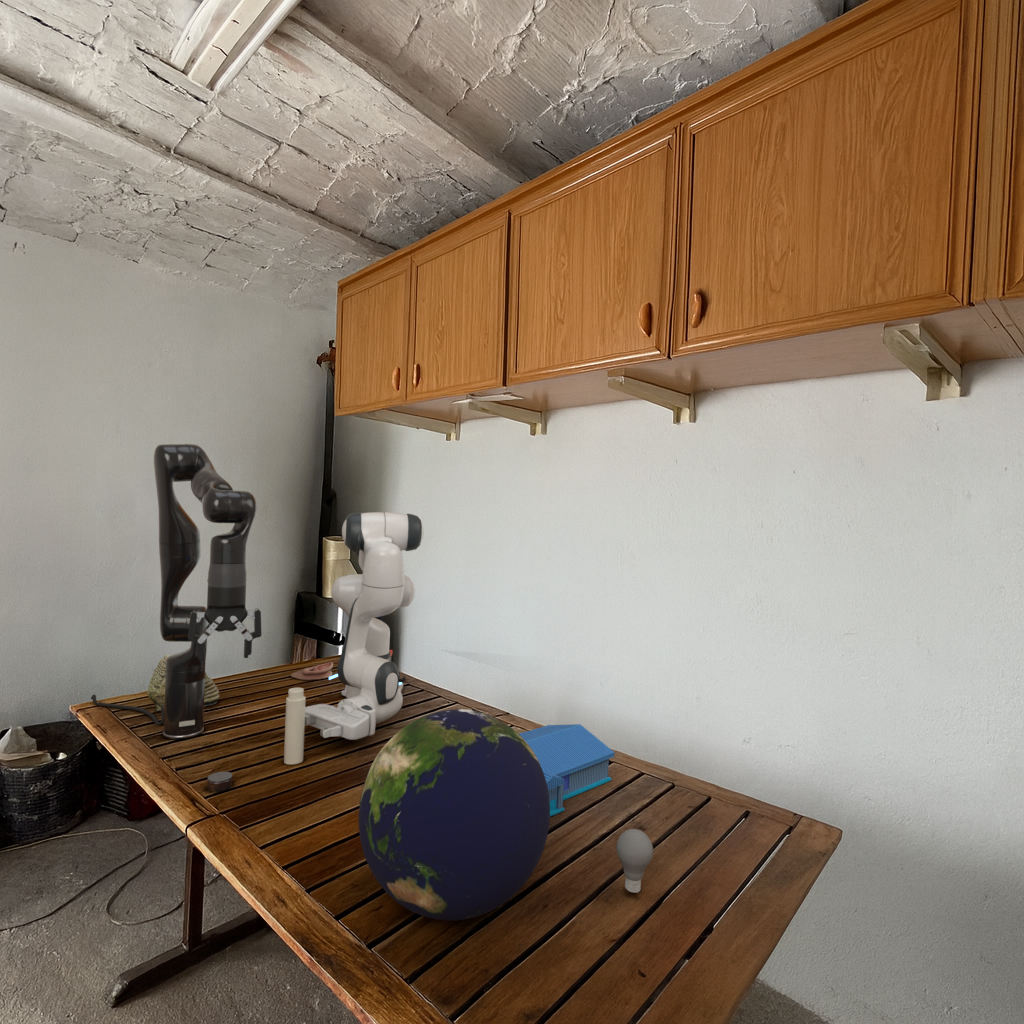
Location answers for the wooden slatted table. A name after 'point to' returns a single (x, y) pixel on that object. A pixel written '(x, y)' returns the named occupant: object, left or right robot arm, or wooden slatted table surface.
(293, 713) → the beige tall cylinder
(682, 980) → the wooden slatted table surface
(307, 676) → the anatomical model
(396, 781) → the globe
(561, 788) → the model building
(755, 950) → the wooden slatted table surface
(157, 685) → the fossil
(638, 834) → the light bulb
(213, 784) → the lid
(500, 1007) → the wooden slatted table surface
